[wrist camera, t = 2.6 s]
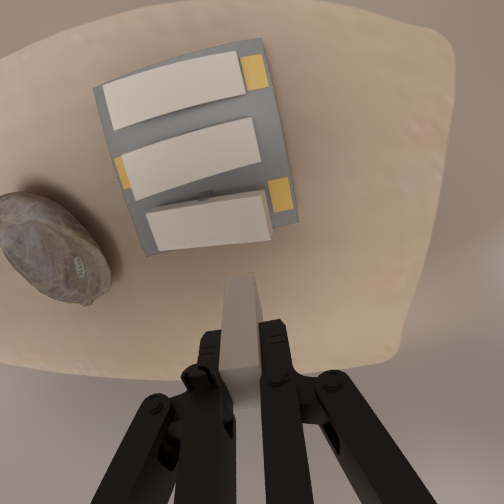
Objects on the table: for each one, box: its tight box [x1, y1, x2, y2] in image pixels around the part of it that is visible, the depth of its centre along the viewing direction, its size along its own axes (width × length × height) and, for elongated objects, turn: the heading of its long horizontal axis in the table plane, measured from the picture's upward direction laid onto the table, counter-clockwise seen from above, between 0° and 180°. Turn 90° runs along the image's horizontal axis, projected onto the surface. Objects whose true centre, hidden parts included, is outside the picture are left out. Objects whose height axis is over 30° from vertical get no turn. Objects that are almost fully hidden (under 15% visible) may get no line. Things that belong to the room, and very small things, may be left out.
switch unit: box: [93, 38, 299, 257], centre depth 25 cm, size 15×17×5 cm
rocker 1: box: [102, 51, 246, 131], centre depth 20 cm, size 10×4×2 cm, turn 102°
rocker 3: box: [146, 190, 273, 251], centre depth 25 cm, size 10×4×2 cm, turn 102°
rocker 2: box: [121, 117, 261, 201], centre depth 22 cm, size 10×4×2 cm, turn 102°
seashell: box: [0, 192, 111, 306], centre depth 27 cm, size 9×12×15 cm
